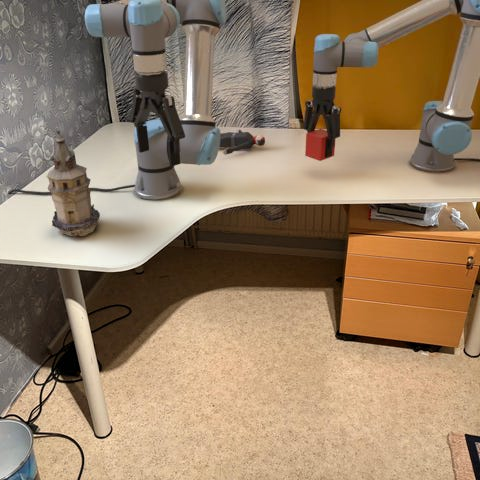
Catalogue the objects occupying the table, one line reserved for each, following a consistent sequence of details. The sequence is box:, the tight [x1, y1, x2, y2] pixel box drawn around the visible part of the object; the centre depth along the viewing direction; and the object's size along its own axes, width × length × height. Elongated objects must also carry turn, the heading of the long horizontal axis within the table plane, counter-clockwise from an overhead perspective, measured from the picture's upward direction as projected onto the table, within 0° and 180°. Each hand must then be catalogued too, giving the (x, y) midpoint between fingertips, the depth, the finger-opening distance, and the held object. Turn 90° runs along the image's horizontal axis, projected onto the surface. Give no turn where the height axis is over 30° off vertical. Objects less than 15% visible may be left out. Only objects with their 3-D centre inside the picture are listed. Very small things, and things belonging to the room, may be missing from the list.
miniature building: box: [46, 129, 101, 237], centre depth 148 cm, size 13×14×30 cm
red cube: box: [304, 128, 337, 162], centre depth 182 cm, size 7×7×8 cm
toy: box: [219, 129, 266, 156], centre depth 213 cm, size 26×6×30 cm
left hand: (159, 158), depth 135 cm, fingers open, 13 cm apart
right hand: (319, 153), depth 183 cm, fingers closed on red cube, 7 cm apart
